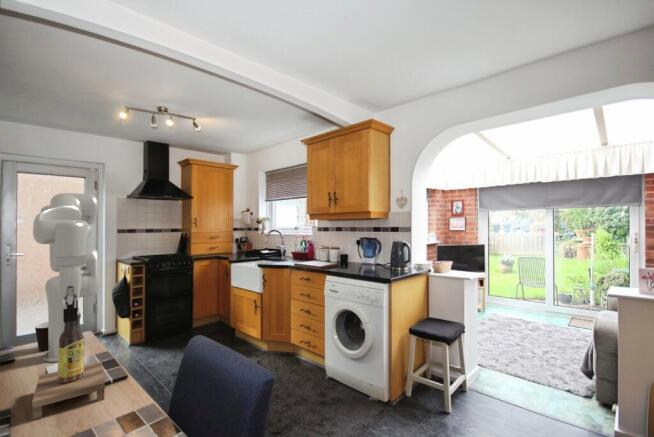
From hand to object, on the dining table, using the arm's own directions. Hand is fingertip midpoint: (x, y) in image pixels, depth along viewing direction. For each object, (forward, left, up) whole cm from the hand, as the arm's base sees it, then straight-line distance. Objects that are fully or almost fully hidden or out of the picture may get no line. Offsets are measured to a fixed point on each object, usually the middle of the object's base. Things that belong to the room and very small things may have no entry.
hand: (71, 317), depth 98 cm
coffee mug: (-51, -7, -24) cm, 56 cm away
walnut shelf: (0, 0, -24) cm, 24 cm away
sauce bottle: (0, 0, -19) cm, 19 cm away
